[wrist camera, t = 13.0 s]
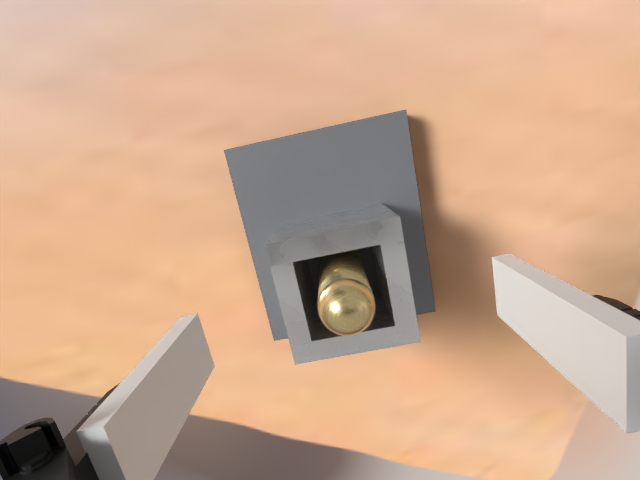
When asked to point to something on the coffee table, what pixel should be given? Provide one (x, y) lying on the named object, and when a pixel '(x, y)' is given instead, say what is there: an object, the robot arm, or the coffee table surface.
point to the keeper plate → (331, 194)
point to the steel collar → (330, 238)
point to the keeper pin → (344, 294)
